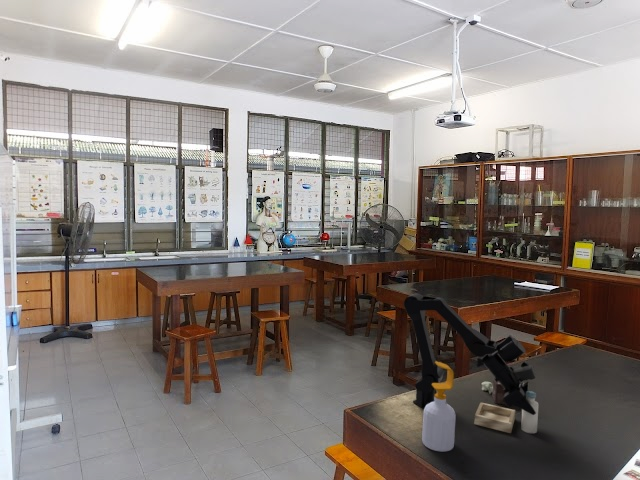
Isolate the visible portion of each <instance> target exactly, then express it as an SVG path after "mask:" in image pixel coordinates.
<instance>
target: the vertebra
mask: <svg viewBox="0 0 640 480" xmlns="http://www.w3.org/2000/svg"><path fill="white" fill-rule="evenodd" d="M481 390H482V391H488V393H489V394H490V395H491V394H493V382H490V381H483V382H481Z"/></svg>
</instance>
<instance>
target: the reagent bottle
mask: <svg viewBox="0 0 640 480" xmlns="http://www.w3.org/2000/svg"><path fill="white" fill-rule="evenodd" d="M526 396H527V399H528V401H529V402H530V404H531V406H532V407H533V409H534V410H535V412H536V414H534V415H532V414H530V413H528V412H526V411H525V410H523V409H521V424H520V429H521V430H522V431H523V432H525V433H527V434H536V433H538V422H539V420H538V419H539V402H538V401H536V398H537V393H536V392H534V391H532V390H531V391H530V390H529V391H527V394H526Z"/></svg>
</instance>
